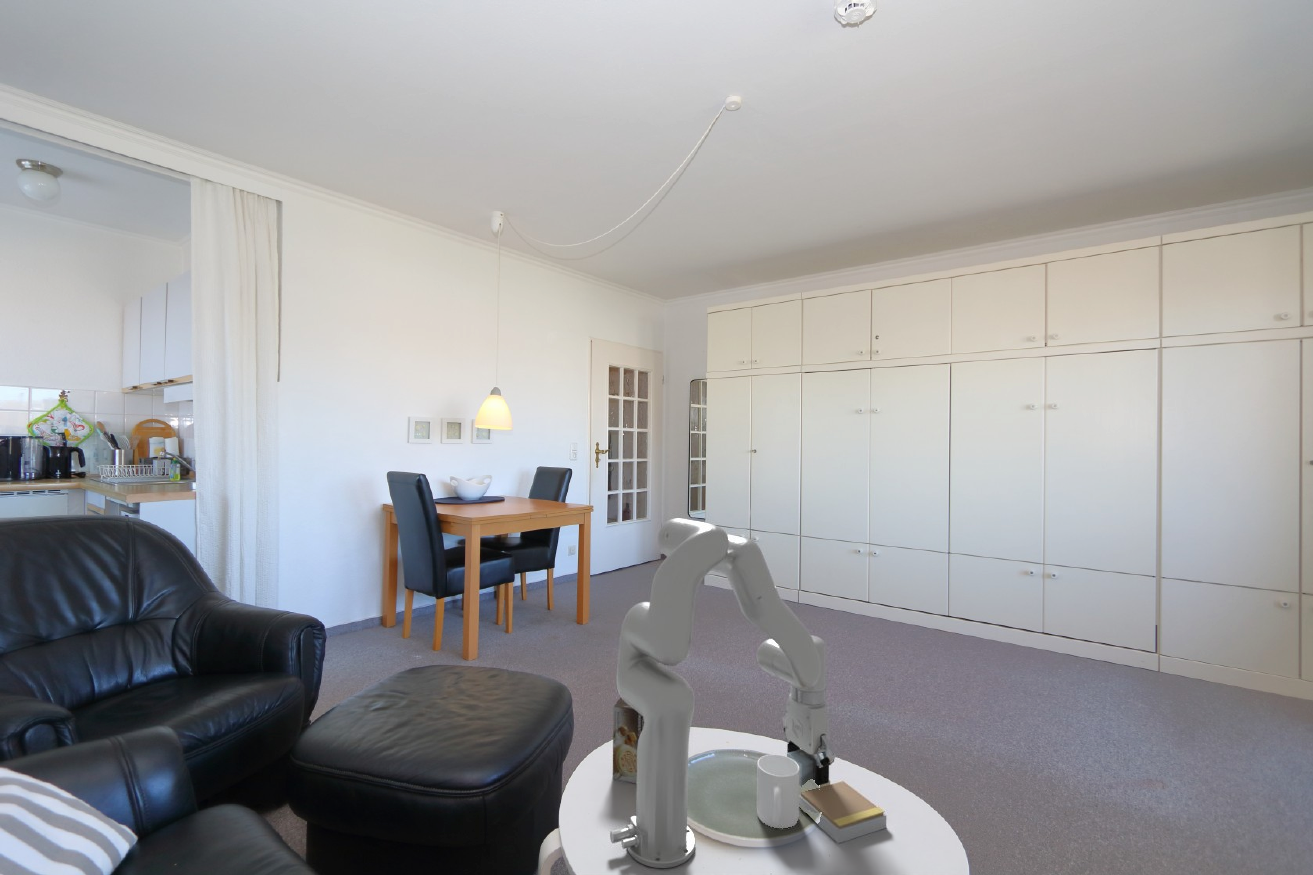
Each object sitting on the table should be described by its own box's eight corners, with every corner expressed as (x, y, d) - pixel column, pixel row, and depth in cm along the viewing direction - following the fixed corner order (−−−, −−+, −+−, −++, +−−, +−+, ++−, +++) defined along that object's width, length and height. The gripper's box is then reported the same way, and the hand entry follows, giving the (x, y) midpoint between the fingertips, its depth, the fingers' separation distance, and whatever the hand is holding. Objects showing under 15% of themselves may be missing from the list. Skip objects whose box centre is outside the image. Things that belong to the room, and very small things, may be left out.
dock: (838, 843, 107) (838, 825, 107) (797, 806, 118) (798, 790, 118) (886, 827, 112) (886, 811, 112) (843, 793, 123) (843, 778, 123)
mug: (799, 846, 106) (799, 790, 106) (753, 838, 108) (754, 783, 108) (798, 808, 118) (799, 757, 118) (757, 801, 120) (758, 751, 120)
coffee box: (658, 771, 130) (660, 700, 130) (650, 787, 124) (651, 712, 124) (620, 764, 133) (622, 694, 133) (610, 779, 127) (612, 705, 127)
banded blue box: (797, 795, 122) (798, 764, 122) (782, 782, 127) (783, 753, 127) (830, 786, 126) (830, 756, 126) (814, 774, 131) (815, 745, 131)
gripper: (771, 681, 133) (770, 755, 133) (820, 713, 118) (819, 797, 117) (797, 676, 136) (796, 749, 136) (848, 706, 121) (848, 789, 120)
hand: (807, 771), depth 127 cm, fingers open, 9 cm apart
